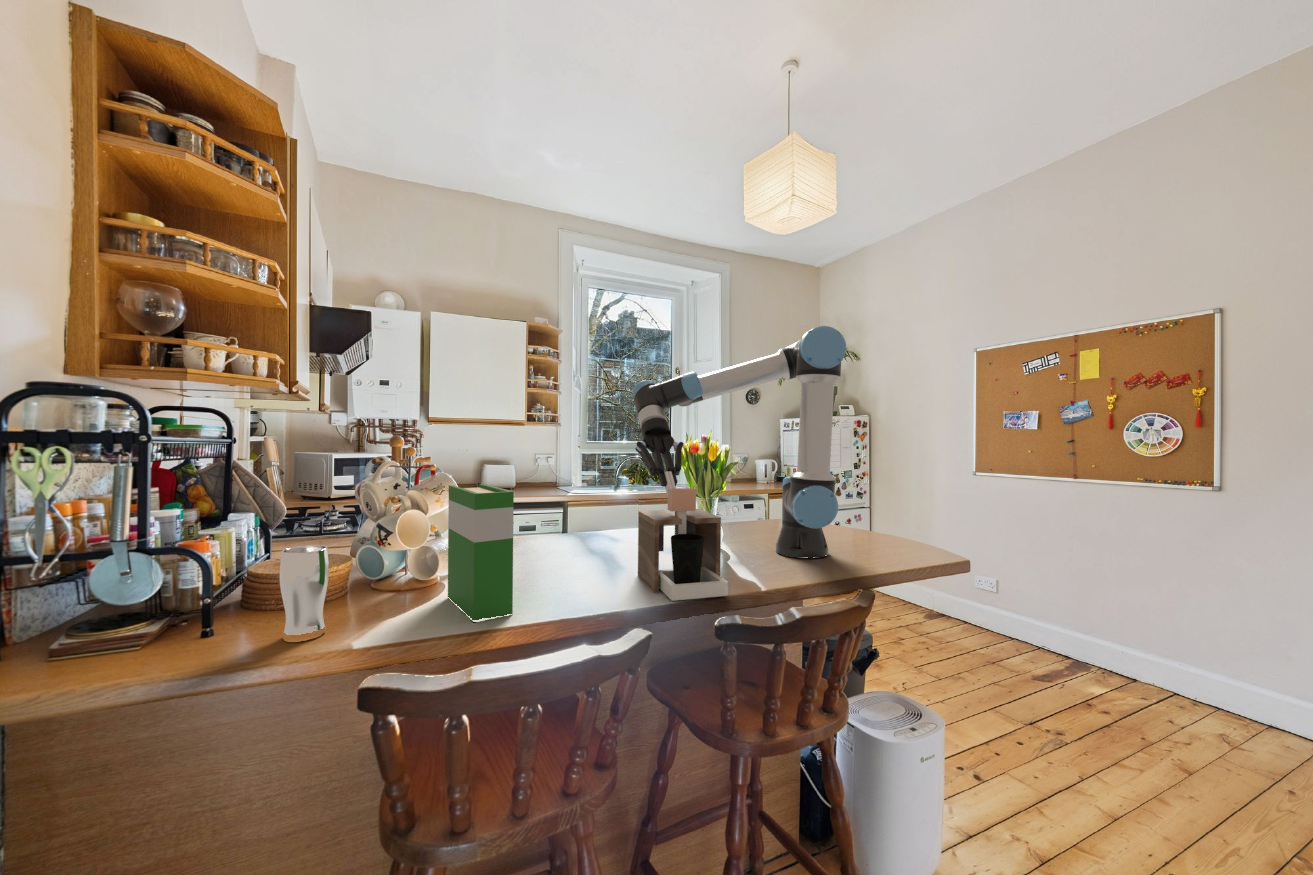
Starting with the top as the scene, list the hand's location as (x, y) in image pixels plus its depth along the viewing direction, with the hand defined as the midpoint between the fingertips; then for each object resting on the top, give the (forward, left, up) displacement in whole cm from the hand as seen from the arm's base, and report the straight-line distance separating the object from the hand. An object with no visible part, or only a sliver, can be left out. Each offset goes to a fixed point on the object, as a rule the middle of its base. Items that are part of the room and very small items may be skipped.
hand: (672, 495), depth 122 cm
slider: (-1, +9, -21) cm, 22 cm away
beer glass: (+72, +14, -21) cm, 76 cm away
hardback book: (+44, +6, -21) cm, 49 cm away
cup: (-1, +7, -21) cm, 22 cm away
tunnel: (-1, 0, -21) cm, 21 cm away
